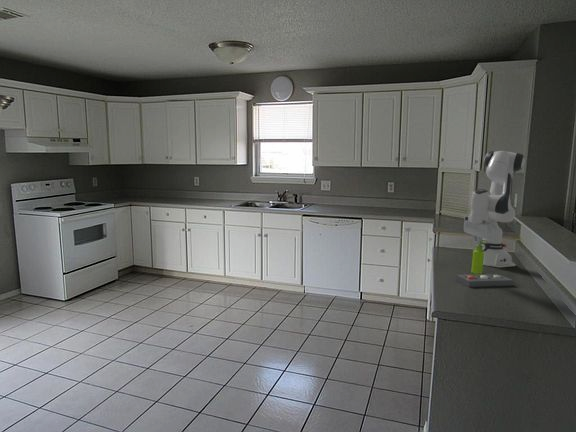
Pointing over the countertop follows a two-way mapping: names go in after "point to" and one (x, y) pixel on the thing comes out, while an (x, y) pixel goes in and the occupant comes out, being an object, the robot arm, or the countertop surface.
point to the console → (484, 280)
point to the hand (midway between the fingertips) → (476, 243)
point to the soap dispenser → (478, 259)
